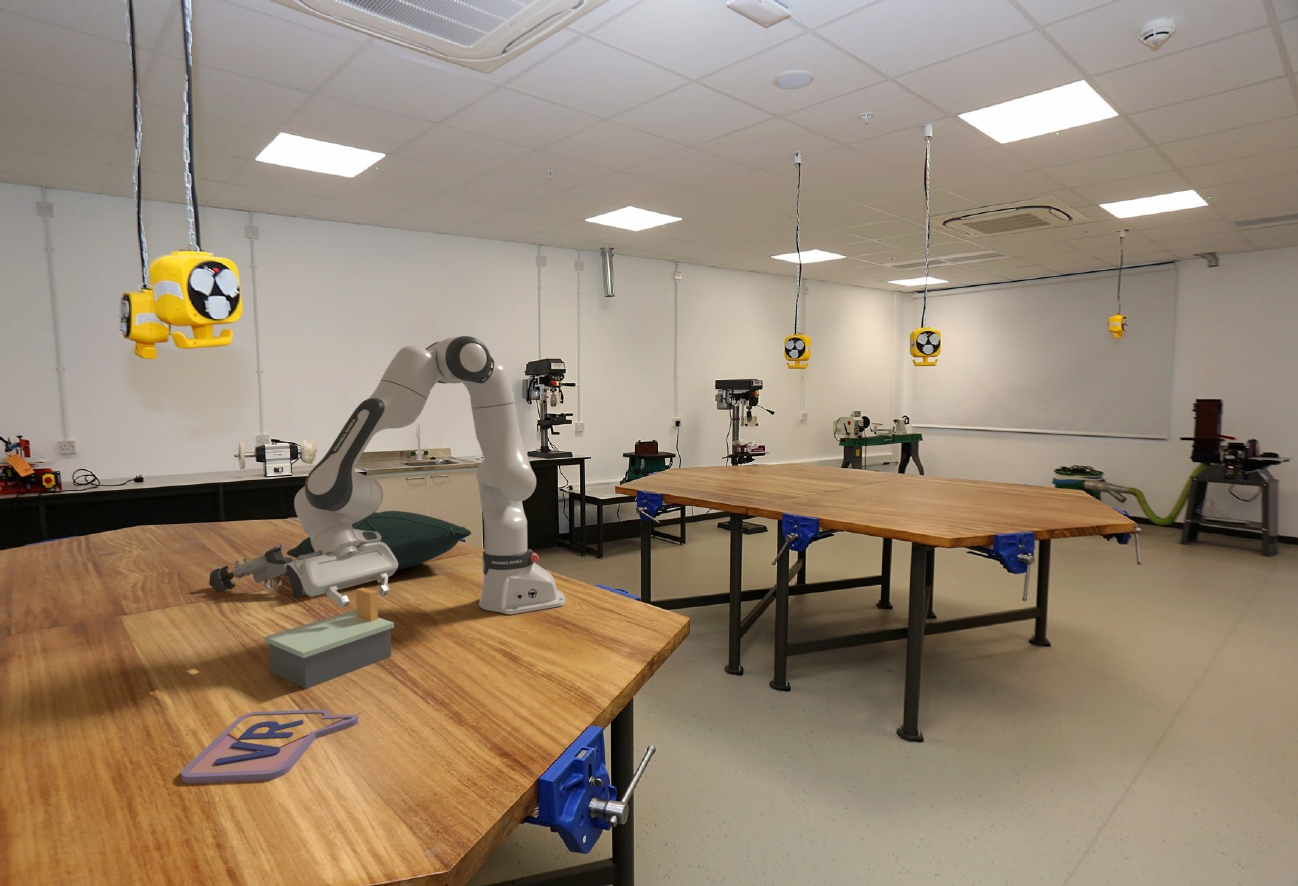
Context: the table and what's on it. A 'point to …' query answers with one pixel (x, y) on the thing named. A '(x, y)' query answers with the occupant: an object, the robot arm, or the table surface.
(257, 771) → the icon
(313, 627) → the lid
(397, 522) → the pillow
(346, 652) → the tub
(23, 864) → the table surface
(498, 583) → the robot arm
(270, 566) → the grey mechanical piece
